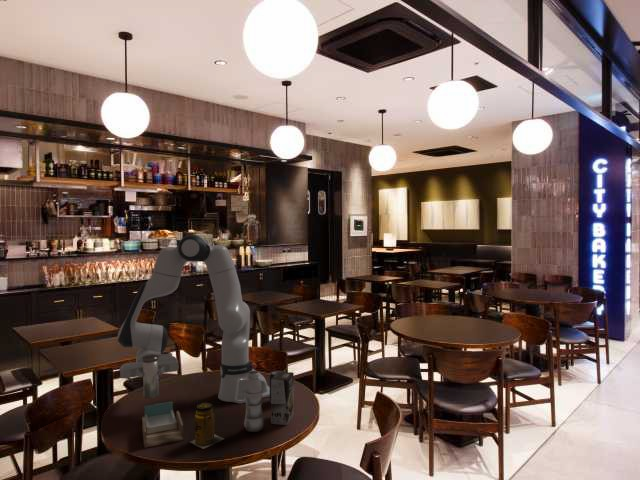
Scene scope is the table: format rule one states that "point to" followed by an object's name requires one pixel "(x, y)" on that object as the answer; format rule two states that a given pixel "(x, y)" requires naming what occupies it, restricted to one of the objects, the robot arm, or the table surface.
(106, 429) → the table surface
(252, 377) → the plastic bottle
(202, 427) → the condiment
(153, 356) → the canister
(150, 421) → the tray
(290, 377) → the coffee box
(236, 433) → the table surface
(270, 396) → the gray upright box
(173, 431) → the housing
